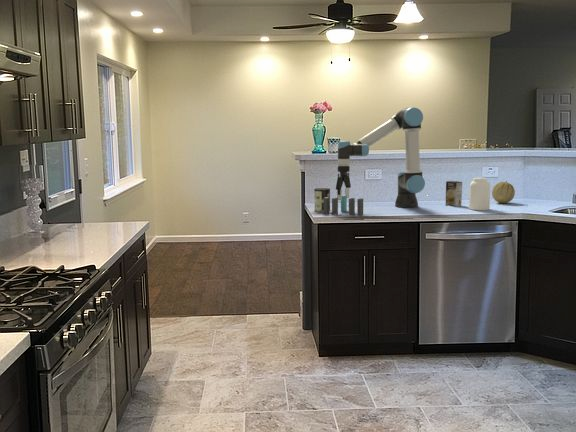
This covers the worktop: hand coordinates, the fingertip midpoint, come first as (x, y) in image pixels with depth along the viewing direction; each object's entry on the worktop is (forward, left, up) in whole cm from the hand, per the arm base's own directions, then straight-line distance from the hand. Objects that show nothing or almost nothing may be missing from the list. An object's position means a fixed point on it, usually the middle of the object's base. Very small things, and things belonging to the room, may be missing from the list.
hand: (343, 199), depth 389 cm
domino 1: (+6, +14, -8) cm, 17 cm away
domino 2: (0, +14, -8) cm, 16 cm away
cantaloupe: (-88, -73, -8) cm, 115 cm away
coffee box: (-59, -51, -8) cm, 79 cm away
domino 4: (-16, +14, -8) cm, 23 cm away
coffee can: (+14, +2, -8) cm, 16 cm away
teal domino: (0, 0, -8) cm, 8 cm away
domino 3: (-11, +14, -8) cm, 19 cm away
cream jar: (-78, -36, -8) cm, 87 cm away
